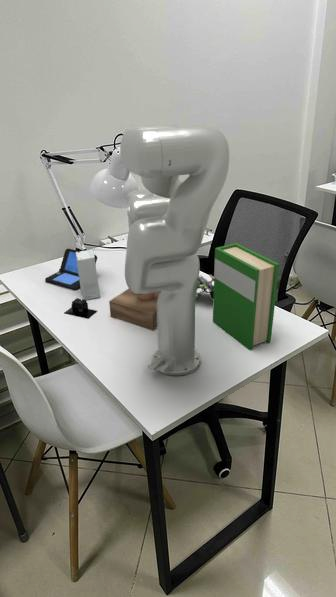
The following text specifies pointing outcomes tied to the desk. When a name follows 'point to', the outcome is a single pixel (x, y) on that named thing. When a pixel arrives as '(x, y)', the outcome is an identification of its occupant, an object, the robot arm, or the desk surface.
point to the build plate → (80, 309)
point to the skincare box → (87, 274)
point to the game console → (67, 272)
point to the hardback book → (244, 294)
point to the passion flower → (205, 286)
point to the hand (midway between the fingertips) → (145, 288)
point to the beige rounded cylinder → (145, 296)
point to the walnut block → (135, 309)
